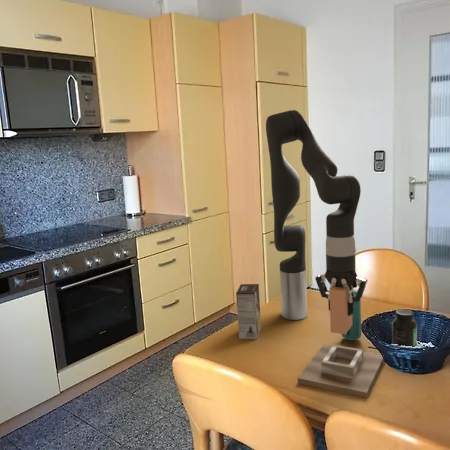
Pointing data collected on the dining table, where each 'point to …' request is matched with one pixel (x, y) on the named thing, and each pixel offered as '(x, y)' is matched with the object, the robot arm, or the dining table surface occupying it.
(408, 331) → the supplement bottle
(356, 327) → the beverage bottle
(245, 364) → the dining table surface
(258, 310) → the coffee box
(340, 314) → the keyed peg
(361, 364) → the keyed holder
